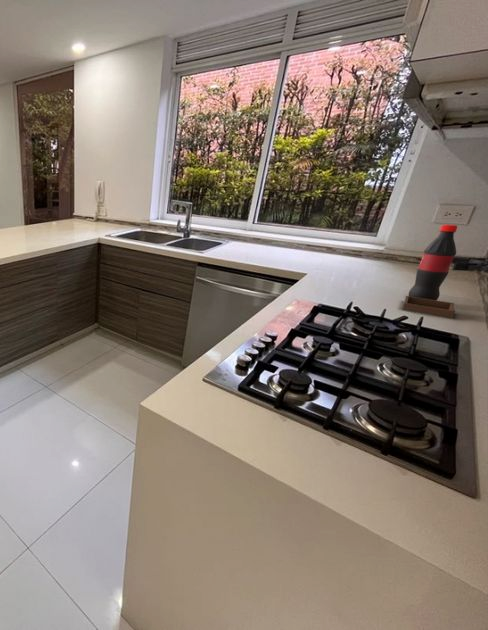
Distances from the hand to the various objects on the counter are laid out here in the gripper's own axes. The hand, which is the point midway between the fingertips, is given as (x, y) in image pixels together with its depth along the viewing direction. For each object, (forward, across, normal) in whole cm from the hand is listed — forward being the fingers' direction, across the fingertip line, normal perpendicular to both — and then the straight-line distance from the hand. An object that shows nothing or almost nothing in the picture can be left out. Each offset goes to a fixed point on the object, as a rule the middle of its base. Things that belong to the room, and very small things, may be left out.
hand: (438, 262), depth 129 cm
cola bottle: (+1, 0, -16) cm, 16 cm away
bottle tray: (+9, -14, -16) cm, 23 cm away
